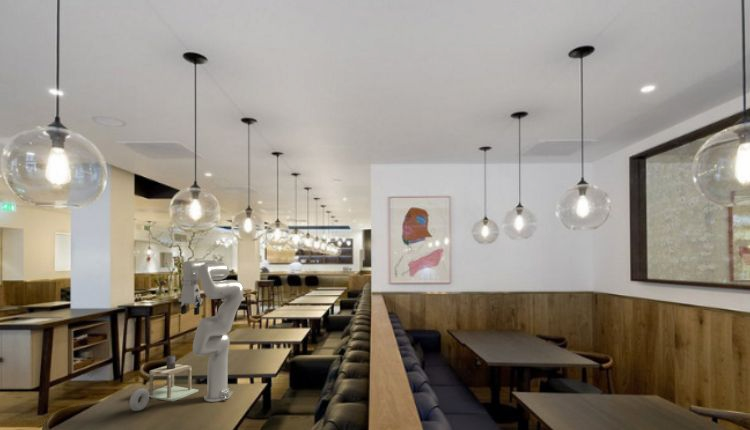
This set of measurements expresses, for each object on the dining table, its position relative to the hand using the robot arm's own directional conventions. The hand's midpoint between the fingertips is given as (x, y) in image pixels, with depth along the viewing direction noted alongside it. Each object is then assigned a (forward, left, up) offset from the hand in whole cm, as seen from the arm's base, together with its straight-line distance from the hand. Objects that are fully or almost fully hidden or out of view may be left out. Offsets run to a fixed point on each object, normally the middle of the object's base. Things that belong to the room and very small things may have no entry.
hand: (190, 314), depth 236 cm
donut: (-8, +36, -38) cm, 53 cm away
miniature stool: (-2, +14, -38) cm, 40 cm away
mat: (-2, +14, -38) cm, 41 cm away
